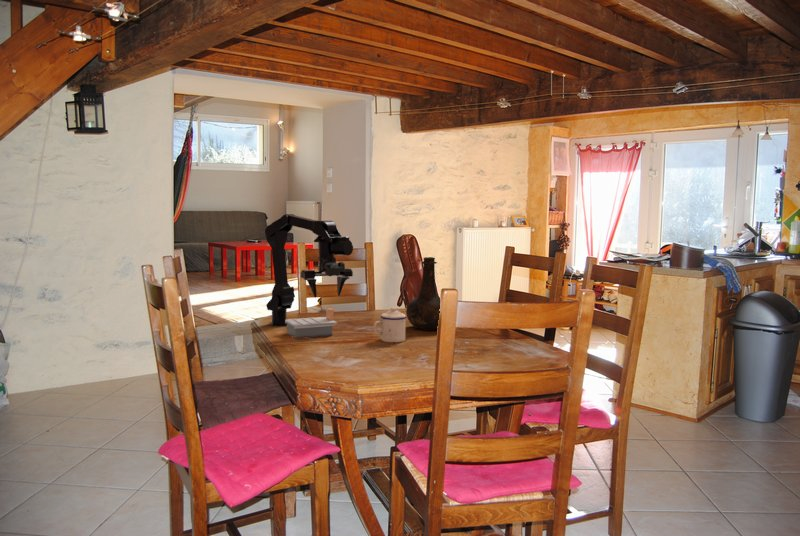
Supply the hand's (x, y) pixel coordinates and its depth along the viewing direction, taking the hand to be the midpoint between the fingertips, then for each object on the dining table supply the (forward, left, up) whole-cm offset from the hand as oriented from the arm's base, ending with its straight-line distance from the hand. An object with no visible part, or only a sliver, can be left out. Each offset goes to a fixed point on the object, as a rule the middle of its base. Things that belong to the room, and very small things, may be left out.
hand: (327, 296), depth 237 cm
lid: (+1, -7, -10) cm, 12 cm away
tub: (+1, -7, -14) cm, 16 cm away
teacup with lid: (+21, +16, -14) cm, 30 cm away
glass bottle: (+7, +40, -14) cm, 43 cm away
